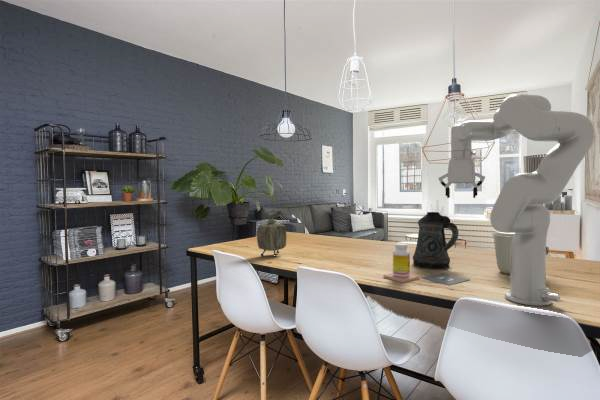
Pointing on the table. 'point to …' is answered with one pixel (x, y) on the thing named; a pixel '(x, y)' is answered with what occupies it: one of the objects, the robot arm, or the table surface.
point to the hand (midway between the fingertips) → (461, 197)
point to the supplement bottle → (401, 260)
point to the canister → (503, 250)
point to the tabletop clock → (271, 235)
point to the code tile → (445, 279)
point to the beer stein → (434, 241)
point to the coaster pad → (401, 279)
